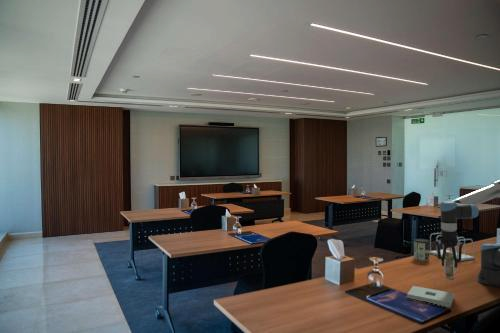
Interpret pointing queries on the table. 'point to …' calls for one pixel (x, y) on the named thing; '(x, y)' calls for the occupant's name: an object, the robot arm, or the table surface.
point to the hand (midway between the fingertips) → (449, 272)
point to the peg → (449, 265)
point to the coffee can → (421, 249)
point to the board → (431, 296)
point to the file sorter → (463, 256)
